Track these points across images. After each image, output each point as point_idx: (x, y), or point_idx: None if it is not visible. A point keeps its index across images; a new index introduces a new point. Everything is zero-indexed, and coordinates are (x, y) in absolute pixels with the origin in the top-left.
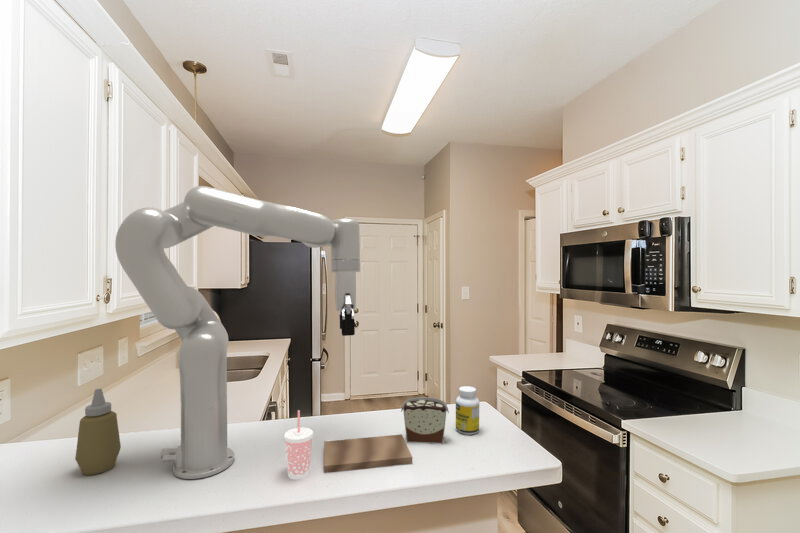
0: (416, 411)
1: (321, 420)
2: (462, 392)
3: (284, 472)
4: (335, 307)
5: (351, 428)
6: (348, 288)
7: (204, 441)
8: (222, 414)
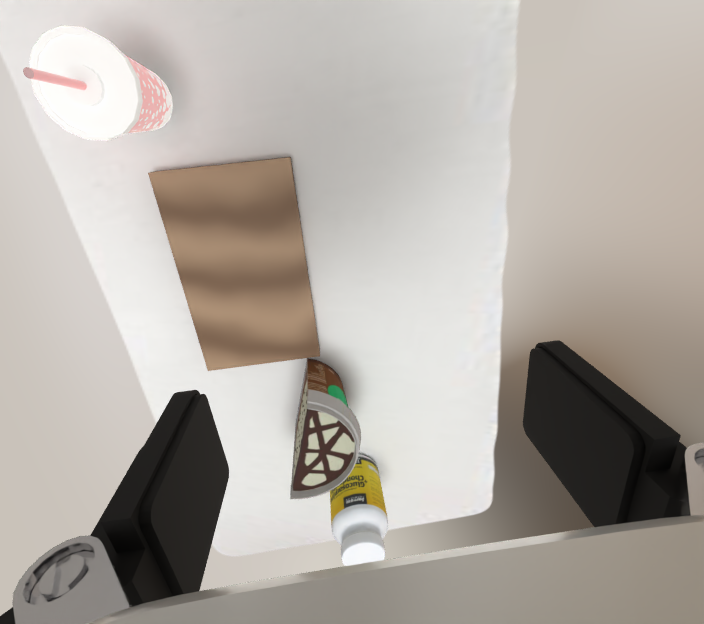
0: (303, 424)
1: (477, 128)
2: (349, 542)
3: (146, 52)
4: (537, 560)
5: (402, 228)
6: None
7: None
8: None
